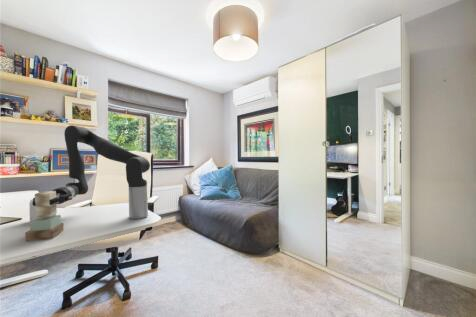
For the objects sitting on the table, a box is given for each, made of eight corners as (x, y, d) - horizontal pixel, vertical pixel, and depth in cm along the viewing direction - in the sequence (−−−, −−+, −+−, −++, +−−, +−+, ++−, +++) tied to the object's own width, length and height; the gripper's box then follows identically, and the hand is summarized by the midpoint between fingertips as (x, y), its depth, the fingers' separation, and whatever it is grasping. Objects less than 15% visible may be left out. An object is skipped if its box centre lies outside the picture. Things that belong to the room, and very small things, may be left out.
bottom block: (63, 231, 94) (63, 222, 94) (53, 239, 85) (52, 230, 85) (39, 233, 91) (38, 225, 91) (25, 242, 82) (25, 232, 82)
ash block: (56, 213, 91) (55, 190, 91) (50, 216, 86) (49, 193, 86) (42, 214, 90) (41, 191, 89) (35, 217, 85) (34, 194, 84)
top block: (60, 223, 92) (60, 215, 92) (51, 229, 86) (50, 220, 85) (42, 225, 91) (42, 216, 90) (30, 231, 84) (30, 221, 84)
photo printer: (57, 217, 112) (56, 195, 112) (55, 219, 109) (54, 196, 108) (31, 220, 107) (30, 197, 106) (28, 223, 103) (27, 199, 103)
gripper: (44, 187, 99) (19, 195, 83) (79, 186, 103) (62, 193, 87) (44, 203, 99) (20, 213, 83) (79, 200, 104) (63, 210, 88)
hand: (42, 203), depth 85 cm, fingers closed on ash block, 5 cm apart
